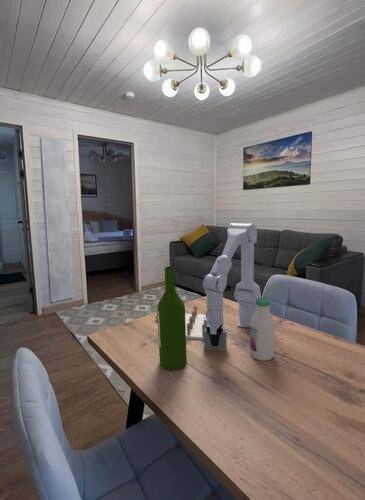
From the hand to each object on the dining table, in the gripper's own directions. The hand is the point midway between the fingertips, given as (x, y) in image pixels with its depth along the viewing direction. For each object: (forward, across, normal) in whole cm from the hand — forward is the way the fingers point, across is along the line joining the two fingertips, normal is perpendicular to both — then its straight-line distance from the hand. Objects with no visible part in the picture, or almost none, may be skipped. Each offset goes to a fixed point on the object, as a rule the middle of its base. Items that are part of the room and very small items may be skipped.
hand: (215, 343), depth 98 cm
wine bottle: (+2, +11, -13) cm, 17 cm away
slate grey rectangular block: (+2, 0, 0) cm, 2 cm away
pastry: (+2, -20, -24) cm, 32 cm away
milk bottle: (+2, +2, +16) cm, 16 cm away
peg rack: (+2, -16, -8) cm, 18 cm away
